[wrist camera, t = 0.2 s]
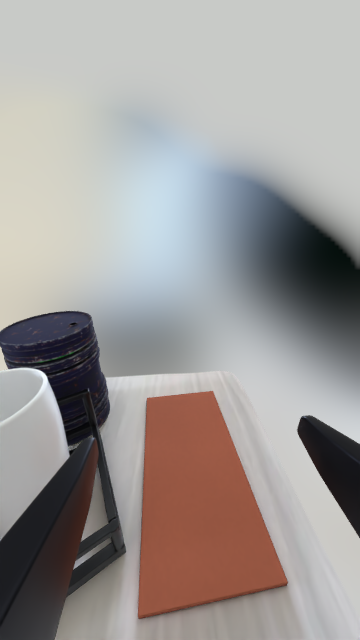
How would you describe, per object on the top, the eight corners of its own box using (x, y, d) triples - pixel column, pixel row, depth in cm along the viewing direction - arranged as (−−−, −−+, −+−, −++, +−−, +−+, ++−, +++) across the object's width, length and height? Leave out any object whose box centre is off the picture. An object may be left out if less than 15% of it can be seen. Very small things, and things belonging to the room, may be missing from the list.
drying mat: (286, 585, 15) (288, 582, 14) (138, 619, 13) (137, 617, 13) (212, 393, 33) (212, 390, 33) (147, 400, 32) (146, 397, 32)
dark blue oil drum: (19, 450, 24) (-33, 347, 19) (58, 393, 34) (31, 312, 28) (100, 444, 25) (73, 342, 19) (117, 390, 34) (102, 309, 28)
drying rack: (126, 551, 16) (109, 488, 13) (-66, 698, 11) (-179, 658, 8) (102, 442, 25) (88, 387, 22) (-11, 495, 20) (-53, 435, 17)
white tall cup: (94, 539, 17) (45, 413, 11) (-7, 606, 14) (-143, 480, 8) (85, 467, 23) (50, 357, 17) (12, 504, 19) (-62, 385, 14)
